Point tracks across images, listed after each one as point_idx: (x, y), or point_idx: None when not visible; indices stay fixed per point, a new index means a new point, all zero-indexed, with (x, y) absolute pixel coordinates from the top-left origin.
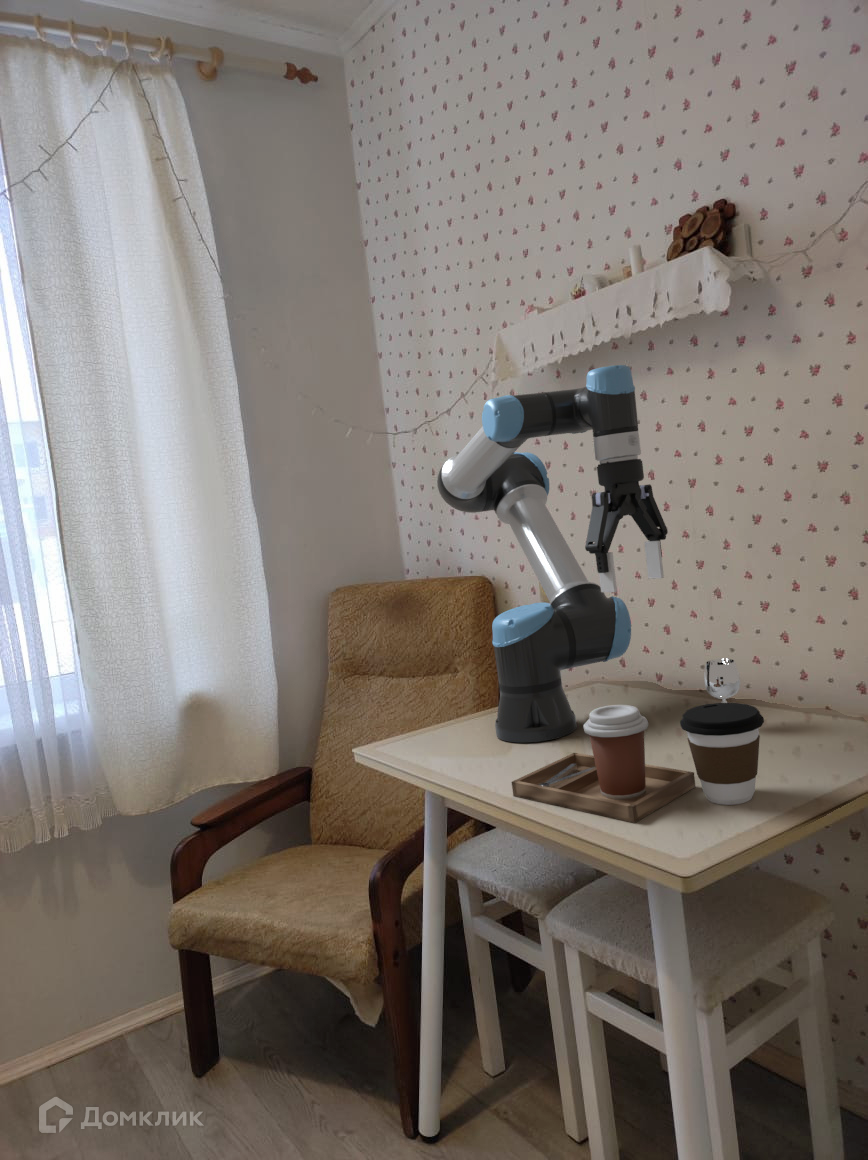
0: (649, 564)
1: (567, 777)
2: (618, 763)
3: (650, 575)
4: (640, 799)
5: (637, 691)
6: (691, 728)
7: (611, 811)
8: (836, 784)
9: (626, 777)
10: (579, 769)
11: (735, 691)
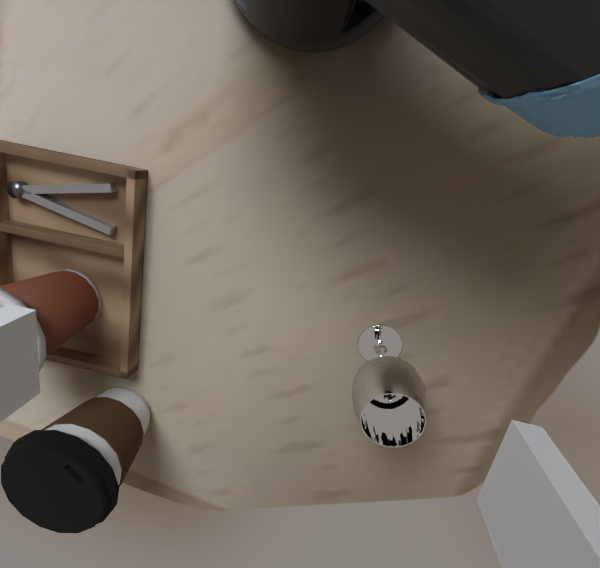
0: (552, 526)
1: (56, 209)
2: None
3: (514, 451)
4: None
5: None
6: (5, 458)
7: None
8: (201, 494)
9: None
10: (120, 194)
11: (373, 407)
